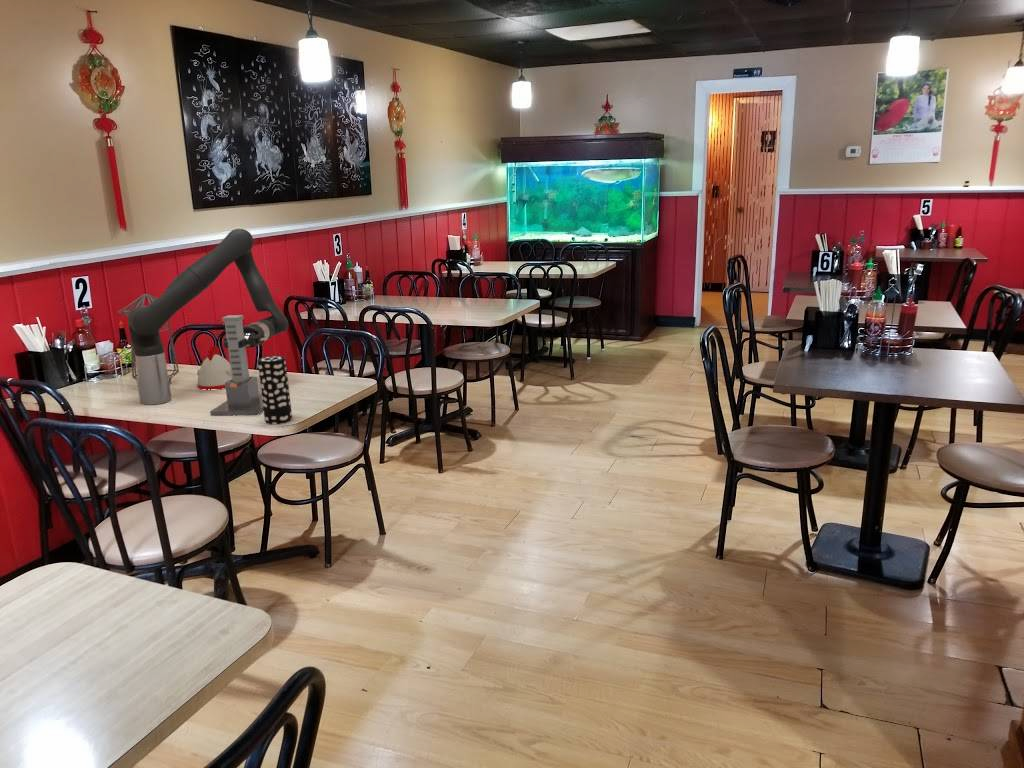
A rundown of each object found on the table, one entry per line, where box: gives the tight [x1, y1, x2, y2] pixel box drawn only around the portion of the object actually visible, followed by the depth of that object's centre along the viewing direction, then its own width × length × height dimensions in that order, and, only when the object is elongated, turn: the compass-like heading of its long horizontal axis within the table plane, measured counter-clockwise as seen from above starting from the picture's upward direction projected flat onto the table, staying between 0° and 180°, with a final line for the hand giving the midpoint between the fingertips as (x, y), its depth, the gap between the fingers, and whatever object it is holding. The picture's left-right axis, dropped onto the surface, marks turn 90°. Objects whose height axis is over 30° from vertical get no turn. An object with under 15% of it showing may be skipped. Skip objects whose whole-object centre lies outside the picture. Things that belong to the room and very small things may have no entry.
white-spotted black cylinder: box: [257, 355, 293, 425], centre depth 238 cm, size 8×8×20 cm
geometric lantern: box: [118, 293, 180, 385], centre depth 283 cm, size 16×16×35 cm
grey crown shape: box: [196, 345, 232, 391], centre depth 284 cm, size 14×14×15 cm
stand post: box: [221, 314, 250, 382], centre depth 249 cm, size 5×5×23 cm
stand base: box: [209, 376, 264, 417], centre depth 253 cm, size 16×16×10 cm
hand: (232, 345), depth 246 cm, fingers closed on stand post, 4 cm apart
